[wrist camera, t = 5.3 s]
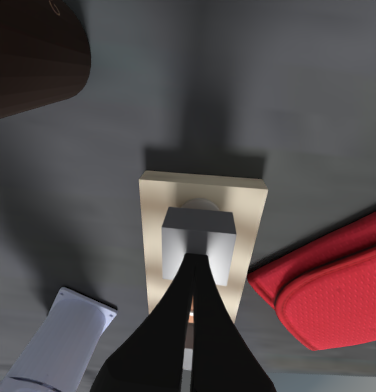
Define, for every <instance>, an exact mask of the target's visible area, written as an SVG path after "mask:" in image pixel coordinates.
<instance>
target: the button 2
mask: <svg viewBox="0 0 376 392" xmlns="http://www.w3.org/2000/svg"><path fill="white" fill-rule="evenodd" d="M161 230H162V276H163V279H168V280H173V279H174V277H175V275H176V273H177V272H178V270H179V267H180V265H181V263H182V261H183V258H184V254H186V253H193V254H203V255H207V256H208V258H209V264H210V268H211V272H212V275H213V278H214V281H215V284H216V285H223V286H227V281H228V276H229V271H230V266H231V261H232V256H233V251H234V246H235V241H236V235H237V233H236V228H235V222H234V217H233V212H225V211H213V210H202V209H190V208H178V207H168V210H167V213H166V216H165V219H164V221H163V224H162V227H161Z"/></svg>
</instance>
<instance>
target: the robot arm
mask: <svg viewBox="0 0 376 392" xmlns="http://www.w3.org/2000/svg"><path fill="white" fill-rule="evenodd" d="M192 298H193V355H192V369H191V384H190V392H276V389H275V387H274V384H273V382H272V381H271V380H270V378H269V377H268V375H267V374H266V373H265V371H264V370H263V369H262V367H261V366H260V364H259V363H258V362H257V360H256V359H255V357H254V356H253V354H252V353H251V351H250V350H249V348H248V347H247V345H246V343H245V342H244V340H243V338H242V337H241V335H240V333H239V332H238V330H237V328H236V327H235V325H234V323H233V321H232V319H231V317H230V316H229V314H228V312H227V310H226V308H225V305H224V303H223V301H222V299H221V296H220V294H219V292H218V289H217V286H216V284H215V281H214V278H213V275H212V272H211V268H210V264H209V258H208V256H207V255H203V254H193V253H186V254H184V258H183V261H182V263H181V265H180V267H179V270H178V272H177V273H176V275H175V277H174V279H173V281H172V283H171V284H170V286H169V287H168V289H167V291H166V292H165V294H164V295H163V297H162V298H161V300H160V301H159V302H158V304H157V305H156V307H155V308H154V309H153V310H152V312H151V313H150V314H149V315H148V317H147V318H146V319H145V320H144V322H143V323H142V324H141V325H140V326H139V327H138V328H137V329H136V330H135V332H134V333H133V334H132V335H131V336H130V337H129V338H128V339H127V340H126V341H125V342H124V343H123V344H122V345H121V346H120V347H119V348H118V349H117V350H116V351H115V352H114V353H113V354H112V355H111V356H110V357H109V358H108V359H107V360H106V361H105V363H104V364H103V366H102V368H101V369H100V371H99V373H98V375H97V376H96V379H95V381H94V383H93V385H92V387H91V389H90V392H181V382H182V372H183V361H184V350H185V341H186V333H187V328H188V322H189V316H190V310H191V304H192ZM116 314H117V310H115V309H113V308H111V307H109V306H106V305H104V304H102V303H100V302H97V301H95V300H93V299H90V298H88V297H86V296H84V295H81V294H79V293H77V292H75V291H72V290H70V289H68V288H66V287H61V288H60V290H59V292H58V294H57V296H56V298H55V301H54V303H53V305H52V307H51V309H50V311H49V314H48V316H47V318H46V319H45V321H44V322H43V324H42V325H41V326H40V328H39V329H38V331H37V332H36V333H35V335H34V336H33V338H32V339H31V340H30V342H29V343H28V345H27V346H26V348H25V349H24V350H23V352H22V353H21V355H20V356H19V357H18V359H17V360H16V362H15V363H14V364H13V366H12V367H11V369H10V370H9V371H8V373H7V374H6V376H5V377H4V378H3V380H2V381H1V382H0V392H76V389H77V387H78V385H79V383H80V380H81V378H82V376H83V374H84V371H85V369H86V367H87V365H88V362H89V360H90V358H91V356H92V353H93V351H94V349H95V347H96V344H97V342H98V340H99V338H100V335H101V334H102V333H103V332H104V330H105V329H106V328H107V326H108V325H109V324H110V322H111V321H112V320H113V319H114V317H115V316H116Z"/></svg>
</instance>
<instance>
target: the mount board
mask: <svg viewBox="0 0 376 392" xmlns="http://www.w3.org/2000/svg"><path fill="white" fill-rule="evenodd" d="M139 187H140V201H141V214H142V227H143V240H144V254H145V267H146V280H147V294H148V307H149V314H150V313H151V312H152V310H153V309H154V308H155V307H156V305H157V304H158V302H159V301H160V300H161V298H162V297H163V295H164V294H165V292H166V291H167V289H168V287H169V286H170V284H171V283H172V281H173V280H168V279H163V276H162V230H161V227H162V224H163V221H164V219H165V216H166V213H167V210H168V207H178V208H190V209H202V210H213V211H225V212H233V217H234V222H235V228H236V233H237V235H236V241H235V246H234V251H233V256H232V261H231V266H230V271H229V276H228V281H227V286H223V285H216V286H217V289H218V292H219V294H220V296H221V299H222V301H223V303H224V305H225V308H226V310H227V312H228V314H229V316H230V317H231V319H232V321H233V323H234V322H235V318H236V314H237V310H238V307H239V303H240V299H241V295H242V291H243V287H244V283H245V279H246V275H247V271H248V267H249V263H250V259H251V255H252V251H253V248H254V244H255V240H256V236H257V232H258V228H259V224H260V220H261V216H262V212H263V208H264V204H265V200H266V196H267V192H268V188H267V187H266V185H265V183H264V181H263V180H262V179H252V178H239V177H225V176H212V175H199V174H186V173H173V172H159V171H145V172H144V174H143V175H142V176H141V177H140V179H139ZM188 324H190V325H193V323H190V322H188Z"/></svg>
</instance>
